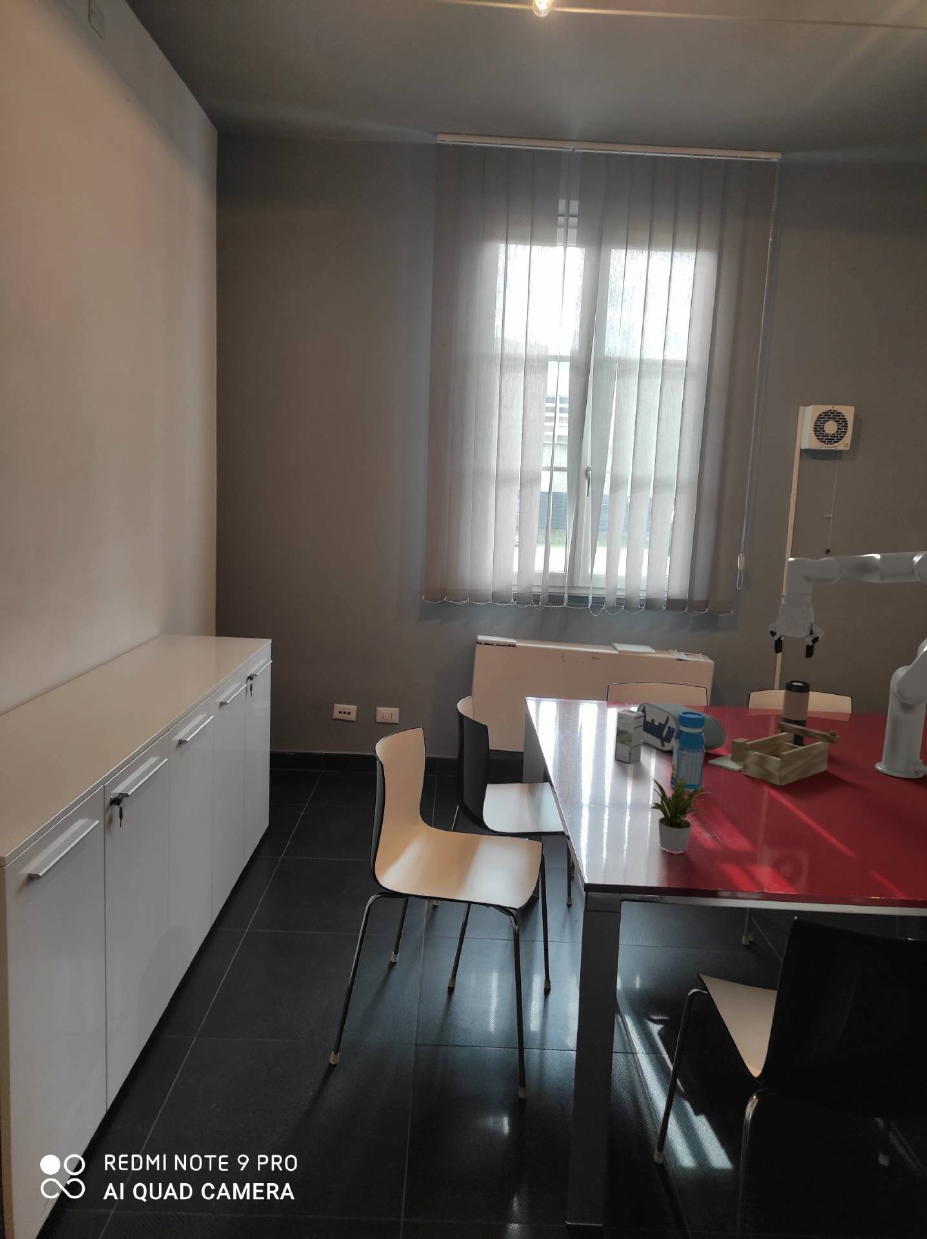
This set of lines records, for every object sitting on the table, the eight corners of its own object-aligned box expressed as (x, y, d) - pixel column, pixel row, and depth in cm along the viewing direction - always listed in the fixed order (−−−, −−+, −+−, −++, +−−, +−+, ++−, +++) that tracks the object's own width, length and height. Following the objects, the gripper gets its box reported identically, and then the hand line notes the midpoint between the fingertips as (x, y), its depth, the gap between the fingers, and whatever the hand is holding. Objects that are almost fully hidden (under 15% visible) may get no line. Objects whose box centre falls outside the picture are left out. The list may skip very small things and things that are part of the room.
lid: (768, 762, 257) (770, 739, 256) (736, 773, 245) (738, 749, 244) (740, 754, 264) (742, 732, 262) (708, 764, 252) (710, 741, 251)
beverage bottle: (686, 794, 223) (692, 719, 221) (662, 784, 231) (668, 712, 228) (708, 789, 228) (715, 716, 225) (685, 780, 235) (691, 709, 232)
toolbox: (826, 770, 250) (829, 740, 249) (781, 785, 234) (784, 754, 233) (788, 759, 259) (791, 730, 258) (742, 773, 243) (745, 742, 242)
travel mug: (806, 747, 273) (812, 686, 270) (780, 745, 274) (787, 684, 272) (801, 741, 280) (808, 681, 278) (777, 738, 282) (783, 679, 279)
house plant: (720, 866, 180) (727, 792, 177) (655, 866, 178) (662, 790, 176) (696, 839, 194) (702, 769, 191) (636, 838, 192) (642, 768, 190)
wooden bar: (839, 742, 246) (840, 732, 246) (834, 744, 245) (836, 733, 244) (781, 728, 260) (782, 717, 259) (777, 729, 258) (778, 718, 258)
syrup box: (641, 760, 251) (644, 712, 249) (630, 764, 246) (634, 715, 244) (624, 755, 255) (628, 708, 253) (613, 759, 250) (617, 711, 248)
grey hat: (632, 737, 274) (637, 698, 273) (681, 736, 282) (686, 698, 280) (673, 758, 254) (678, 716, 253) (725, 756, 262) (730, 715, 260)
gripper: (764, 596, 260) (760, 652, 263) (819, 602, 248) (815, 660, 250) (776, 595, 265) (773, 650, 268) (831, 601, 253) (827, 658, 255)
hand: (793, 655), depth 259 cm, fingers open, 9 cm apart
